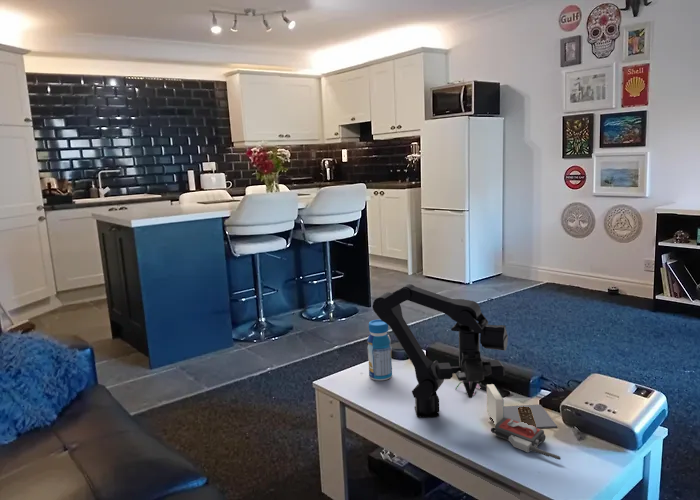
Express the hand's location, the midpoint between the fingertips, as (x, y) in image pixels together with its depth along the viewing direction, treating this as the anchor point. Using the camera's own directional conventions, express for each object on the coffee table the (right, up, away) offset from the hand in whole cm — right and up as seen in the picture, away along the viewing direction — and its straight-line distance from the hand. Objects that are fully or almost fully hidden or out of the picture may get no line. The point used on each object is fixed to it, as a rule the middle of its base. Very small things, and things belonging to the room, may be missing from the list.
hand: (470, 397), depth 155 cm
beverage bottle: (-24, -2, +35) cm, 42 cm away
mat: (+16, -6, +1) cm, 17 cm away
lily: (+4, -4, +20) cm, 21 cm away
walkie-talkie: (+13, -9, -13) cm, 20 cm away
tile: (+7, -7, +1) cm, 10 cm away
